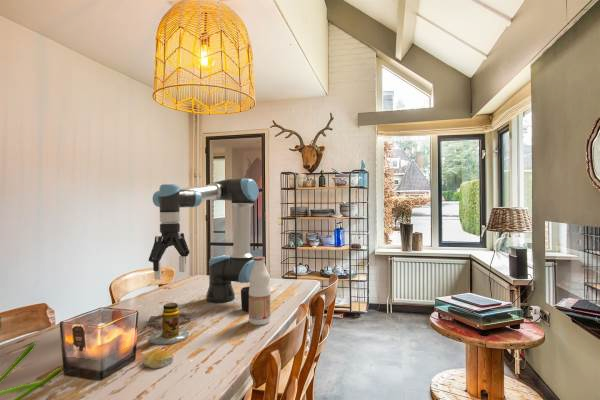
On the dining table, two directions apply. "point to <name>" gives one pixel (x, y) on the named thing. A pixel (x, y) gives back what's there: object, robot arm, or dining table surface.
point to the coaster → (168, 341)
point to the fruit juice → (259, 293)
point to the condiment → (170, 322)
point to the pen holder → (245, 299)
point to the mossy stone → (158, 358)
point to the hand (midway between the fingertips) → (170, 275)
